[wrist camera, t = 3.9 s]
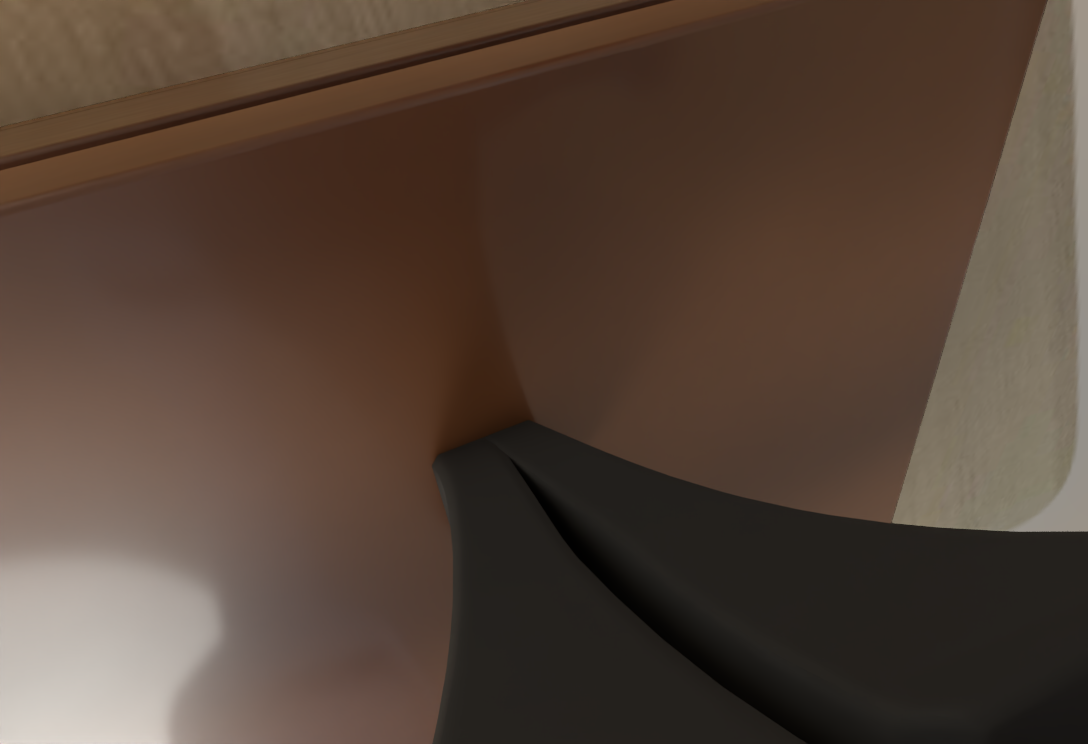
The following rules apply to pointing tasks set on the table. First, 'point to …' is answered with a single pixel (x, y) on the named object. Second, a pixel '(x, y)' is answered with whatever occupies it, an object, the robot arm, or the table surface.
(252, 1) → the table surface
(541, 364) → the lid
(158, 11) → the table surface
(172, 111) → the jewel box
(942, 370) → the table surface
